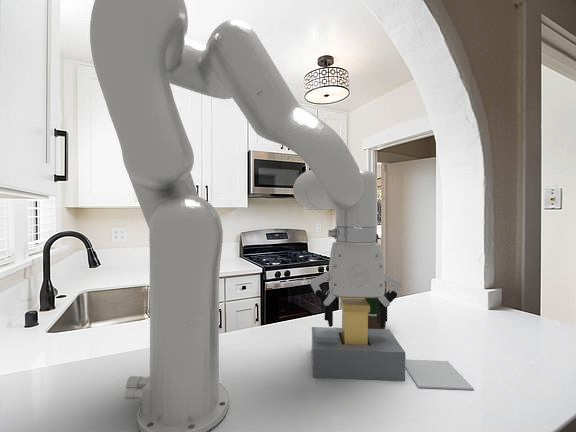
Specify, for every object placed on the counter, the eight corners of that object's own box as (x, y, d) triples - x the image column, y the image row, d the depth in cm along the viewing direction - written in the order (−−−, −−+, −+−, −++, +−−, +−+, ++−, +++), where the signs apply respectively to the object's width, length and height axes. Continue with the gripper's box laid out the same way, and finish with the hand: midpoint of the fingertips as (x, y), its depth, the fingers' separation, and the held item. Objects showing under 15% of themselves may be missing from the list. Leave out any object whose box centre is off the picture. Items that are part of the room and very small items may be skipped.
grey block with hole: (313, 377, 52) (313, 343, 52) (311, 350, 62) (311, 322, 62) (405, 380, 51) (405, 346, 51) (388, 353, 61) (389, 324, 61)
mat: (418, 388, 49) (418, 386, 49) (400, 360, 58) (400, 359, 58) (473, 390, 49) (473, 388, 49) (447, 362, 58) (447, 360, 58)
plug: (342, 370, 55) (343, 305, 54) (339, 357, 59) (340, 297, 59) (369, 371, 54) (370, 305, 54) (364, 358, 59) (364, 298, 59)
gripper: (310, 237, 53) (310, 331, 54) (408, 238, 52) (407, 333, 53) (310, 234, 61) (309, 316, 61) (395, 234, 60) (395, 318, 60)
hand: (355, 324), depth 57 cm, fingers open, 9 cm apart
